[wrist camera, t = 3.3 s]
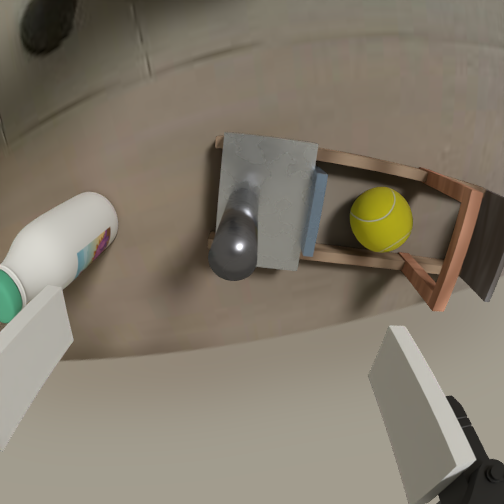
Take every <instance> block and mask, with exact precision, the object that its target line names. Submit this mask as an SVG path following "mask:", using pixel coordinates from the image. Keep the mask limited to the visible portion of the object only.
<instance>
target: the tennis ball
mask: <svg viewBox="0 0 504 504" xmlns="http://www.w3.org/2000/svg"><path fill="white" fill-rule="evenodd" d="M350 224H351V228H352V231H353V233H354V235H355V237H356V238H357V240H358V241H359V242H360V243H361V244H362V245H363V246H364V247H366V248H367V249H369V250H371V251H374V252H379V253H384V252H389V251H392V250H394V249H396V248H398V247H400V246H401V245H402V244H403V243H404V242H405V241H406V240H407V239H408V237H409V236H410V233H411V230H412V226H413V218H412V212H411V209H410V207H409V205H408V203H407V201H406V200H405V199H404V198H403V197H402V196H401V195H400V194H399V193H398V192H396V191H395V190H393V189H391V188H388V187H376V188H372V189H369V190H367V191H365V192H364V193H362V194H361V195H360V196H359V197H358V198H357V199H356V200H355V202H354V204H353V205H352V208H351V211H350Z"/></svg>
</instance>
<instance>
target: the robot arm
mask: <svg viewBox="0 0 504 504" xmlns="http://www.w3.org/2000/svg"><path fill="white" fill-rule="evenodd" d="M73 341H74V340H73V336H72V332H71V328H70V323H69V319H68V315H67V310H66V305H65V301H64V296H63V290H62V287H57V286H52V285H47V286H46V287H45V288H44V289H43V290H42V291H41V292H40V293H39V294H38V295H37V296H35V297H34V298H33V299H32V300H31V301H30V302H29V303H28V304H27V305H26V306H25V307H24V308H23V309H22V310H21V311H20V312H19V313H18V314H17V315H16V316H15V317H14V318H13V319H12V320H11V321H10V322H9V323H8V324H7V325H6V326H5V327H4V329H3V330H2V331H1V332H0V451H2V452H3V450H4V449H5V447H6V445H7V443H8V441H9V440H10V438H11V436H12V435H13V433H14V431H15V429H16V428H17V426H18V424H19V423H20V421H21V419H22V418H23V416H24V414H25V413H26V411H27V410H28V408H29V406H30V405H31V403H32V402H33V400H34V398H35V396H36V395H37V394H38V392H39V391H40V389H41V387H42V386H43V384H44V383H45V381H46V380H47V378H48V377H49V375H50V374H51V372H52V371H53V369H54V368H55V366H56V365H57V364H58V362H59V361H60V359H61V358H62V356H63V355H64V353H65V352H66V351H67V349H68V348H69V346H70V345H71V344H72V342H73ZM368 377H369V380H370V383H371V386H372V388H373V392H374V394H375V397H376V400H377V403H378V406H379V409H380V412H381V415H382V418H383V421H384V424H385V427H386V430H387V433H388V436H389V439H390V442H391V446H392V449H393V452H394V455H395V458H396V462H397V465H398V469H399V472H400V475H401V479H402V482H403V485H404V489H405V493H406V497H407V500H408V504H425V503H428V502H430V501H431V500H432V499H433V498H435V497H436V496H437V495H438V496H439V499H440V501H439V502H438V503H437V504H504V464H503V463H502V462H500V461H498V460H495V459H489V458H488V456H487V454H486V452H485V450H484V448H483V446H482V444H481V442H480V440H479V438H478V436H477V434H476V432H475V430H474V428H473V427H472V426H471V422H470V420H469V418H467V415H466V413H465V411H464V409H463V407H462V405H461V404H460V403H459V402H458V401H457V400H456V399H454V397H453V396H445V395H444V393H443V391H442V389H441V387H440V386H439V384H438V382H437V380H436V378H435V377H434V375H433V373H432V371H431V369H430V367H429V366H428V364H427V362H426V360H425V359H424V357H423V355H422V354H421V352H420V350H419V348H418V347H417V345H416V343H415V342H414V340H413V339H412V337H411V335H410V333H409V332H408V330H407V329H406V327H405V326H389V327H388V330H387V332H386V335H385V337H384V340H383V342H382V344H381V347H380V349H379V352H378V354H377V356H376V359H375V361H374V363H373V366H372V368H371V370H370V372H369V375H368Z"/></svg>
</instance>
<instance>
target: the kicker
mask: <svg viewBox="0 0 504 504" xmlns="http://www.w3.org/2000/svg"><path fill="white" fill-rule="evenodd" d="M317 151H318V144H317V143H313V142H306V141H300V140H293V139H286V138H279V137H271V136H262V135H254V134H244V133H234V132H224V142H223V152H222V163H221V174H220V185H219V197H218V209H217V222H216V234H215V237H214V240H213V243H212V245H211V248H210V251H209V255H208V260H209V265H210V267H211V269H212V270H213V272H214V273H215V274H216V275H218V276H219V277H221V278H223V279H225V280H230V281H238V280H242V279H245V278H246V277H248V276H249V275H251V274H252V273H253V271H254V270H255V268H256V267H264V268H273V269H282V270H292V271H297V268H298V263H299V257H300V252H301V251H302V254H303V256H308V257H313V253H314V248H315V243H316V238H317V233H318V228H319V223H320V217H321V212H322V206H323V201H324V195H325V190H326V184H327V178H328V174H327V173H325V172H324V171H323V170H322V169H321V168H320V167H318V166H316V165H315V164H316V158H317Z"/></svg>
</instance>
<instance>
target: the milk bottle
mask: <svg viewBox="0 0 504 504" xmlns="http://www.w3.org/2000/svg"><path fill="white" fill-rule="evenodd" d="M117 230H118V218H117V214H116V211H115V209H114V207H113V205H112V204H111V203H110V201H109V200H108V199H106V198H105V197H104V196H102V195H101V194H98V193H95V192H84V193H81V194H79V195H77V196H75V197H73V198H71V199H69V200H67V201H65V202H64V203H62V204H60V205H58V206H56V207H55V208H53V209H51V210H49V211H48V212H46V213H44V214H43V215H41V216H39V217H38V218H36V219H35V220H33V221H32V222H30V223H29V224H28V225H26V226H25V227H24V228H23V229H22V230H21V231H20V232H19V234H18V235H17V236H16V238H15V239H14V241H13V243H12V245H11V247H10V250H9V252H8V254H7V256H6V258H5V259H4V261H3V262H2V263H1V265H0V322H2V323H9V322H10V321H11V320H12V319H13V318H14V317H15V316H16V315H17V314H18V313H19V312H20V311H21V310H22V309H23V308H24V307H25V306H26V303H27V302H29V301H31V300H32V299H33V298H34V297H35V296H37V295H38V294H39V293H40V292H41V291H42V290H43V289H44V288H45V287H46V286H47V285H52V286H57V287H62V290H63V289H64V288H65V287H67V286H68V285H69V284H70V283H71V282H72V281H73V280H74V279H75V278H77V277H78V276H79V275H80V274H81V273H82V272H83V271H84V270H85V269H86V268H87V267H88V266H89V265H90V264H91V263H92V262H93V261H94V260H95V259H96V258H97V257H98V256H99V255H100V254H101V253H102V252H103V251H104V250H105V249H106V248H107V247H108V246H109V245H110V244H111V243H112V241H113V240H114V239H115V237H116V234H117Z"/></svg>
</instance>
